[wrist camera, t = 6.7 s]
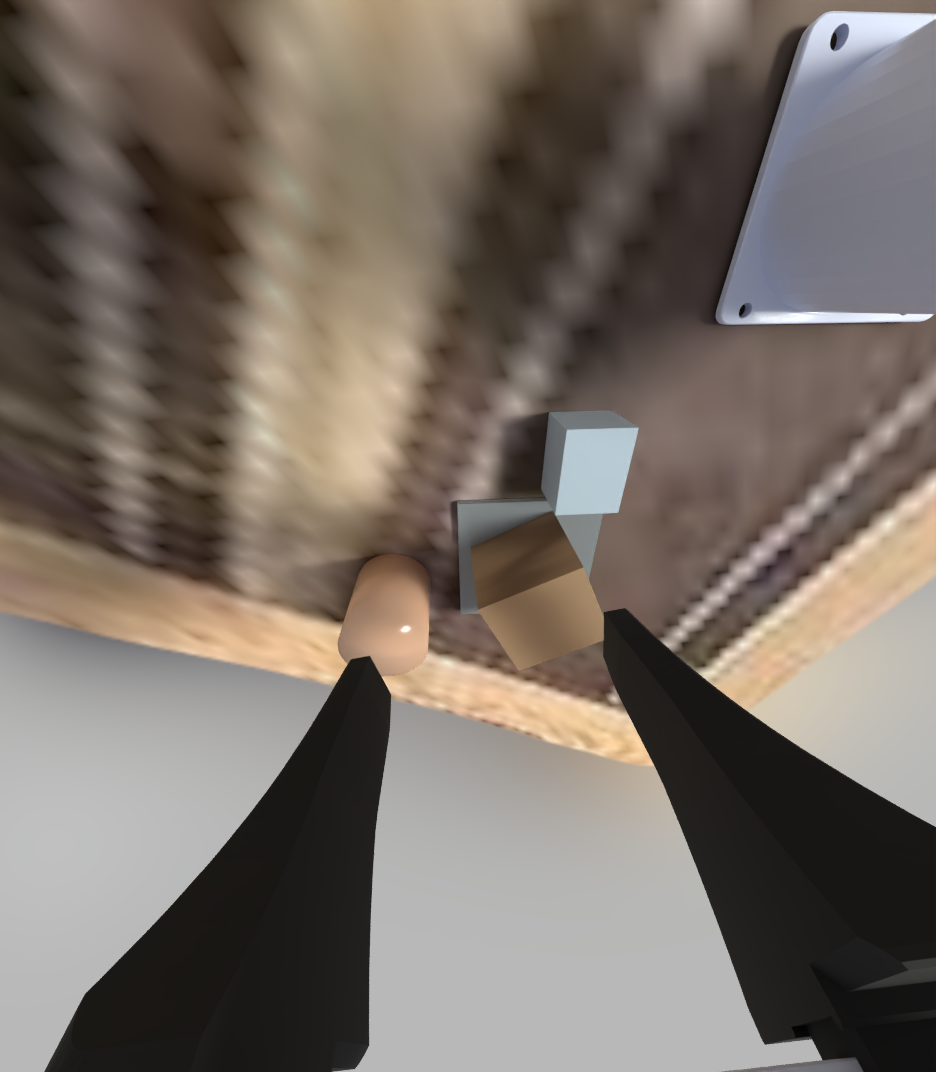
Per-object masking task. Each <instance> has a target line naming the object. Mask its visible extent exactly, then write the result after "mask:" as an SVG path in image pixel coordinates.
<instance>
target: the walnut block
mask: <svg viewBox="0 0 936 1072" xmlns="http://www.w3.org/2000/svg"><path fill="white" fill-rule="evenodd" d="M470 548H471V557H472V565H473V573H474V582H475V590H476V599H477V607H478V611H479V612H480V614H481V615H482V617H483V618H484V620H485V621H486V623H487V624H488V626H489V627H490V629H491V630H492V632H493V633H494V635H495V636H496V638H497V639H498V641H499V642H500V644H501V645H502V646H503V648H504V649H505V651H506V652H507V654H508V655H509V657H510V658H511V660H512V661H513V663H514V664H515V666H516V667H517V669H518V670H522V669H525V668H528V667H530V666H533V665H536V664H539V663H542V662H544V661H547V660H550V659H553V658H556V657H558V656H561V655H564V654H567V653H570V652H572V651H575V650H578V649H581V648H584V647H586V646H589V645H592V644H595V643H597V642H600V641H603V640H604V617H603V614H602V612H601V609H600V607H599V604H598V602H597V599H596V597H595V594H594V592H593V589H592V587H591V584H590V582H589V579H588V577H587V574H586V572H585V569H584V567H583V565H582V563H581V561H580V560H579V558H578V556H577V554H576V552H575V550H574V548H573V547H572V545H571V543H570V541H569V539H568V537H567V536H566V534H565V532H564V530H563V528H562V526H561V525H560V523H559V521H558V519H557V517H556V515H555V514H554V512H553V511H551V512H549V513H547V514H545V515H542V516H540V517H538V518H536V519H533V520H531V521H529V522H527V523H524V524H522V525H520V526H517V527H515V528H513V529H511V530H508V531H506V532H504V533H502V534H499V535H497V536H495V537H493V538H490V539H488V540H486V541H484V542H481V543H479V544H477V545H475V546H472V547H470Z"/></svg>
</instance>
